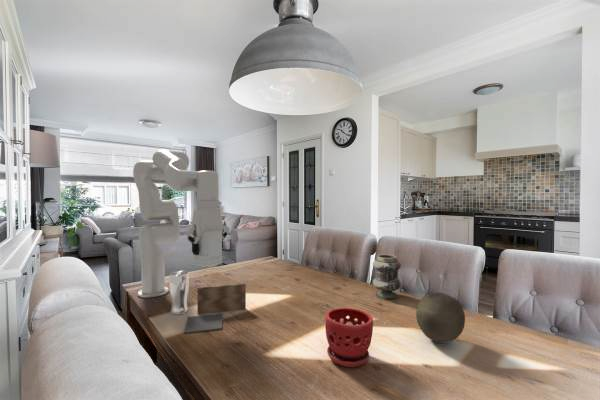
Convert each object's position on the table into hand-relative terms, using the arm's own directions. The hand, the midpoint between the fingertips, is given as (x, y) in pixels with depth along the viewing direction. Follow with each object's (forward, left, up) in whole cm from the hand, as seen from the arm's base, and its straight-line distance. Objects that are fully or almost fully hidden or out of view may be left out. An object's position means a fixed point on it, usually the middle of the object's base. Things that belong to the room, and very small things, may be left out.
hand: (208, 252), depth 106 cm
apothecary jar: (+34, +68, -25) cm, 80 cm away
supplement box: (0, 0, -5) cm, 5 cm away
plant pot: (+50, +16, -25) cm, 58 cm away
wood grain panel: (-3, +7, -24) cm, 26 cm away
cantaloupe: (+65, +43, -25) cm, 82 cm away
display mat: (+2, -3, -24) cm, 25 cm away
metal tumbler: (-14, -5, -25) cm, 29 cm away
